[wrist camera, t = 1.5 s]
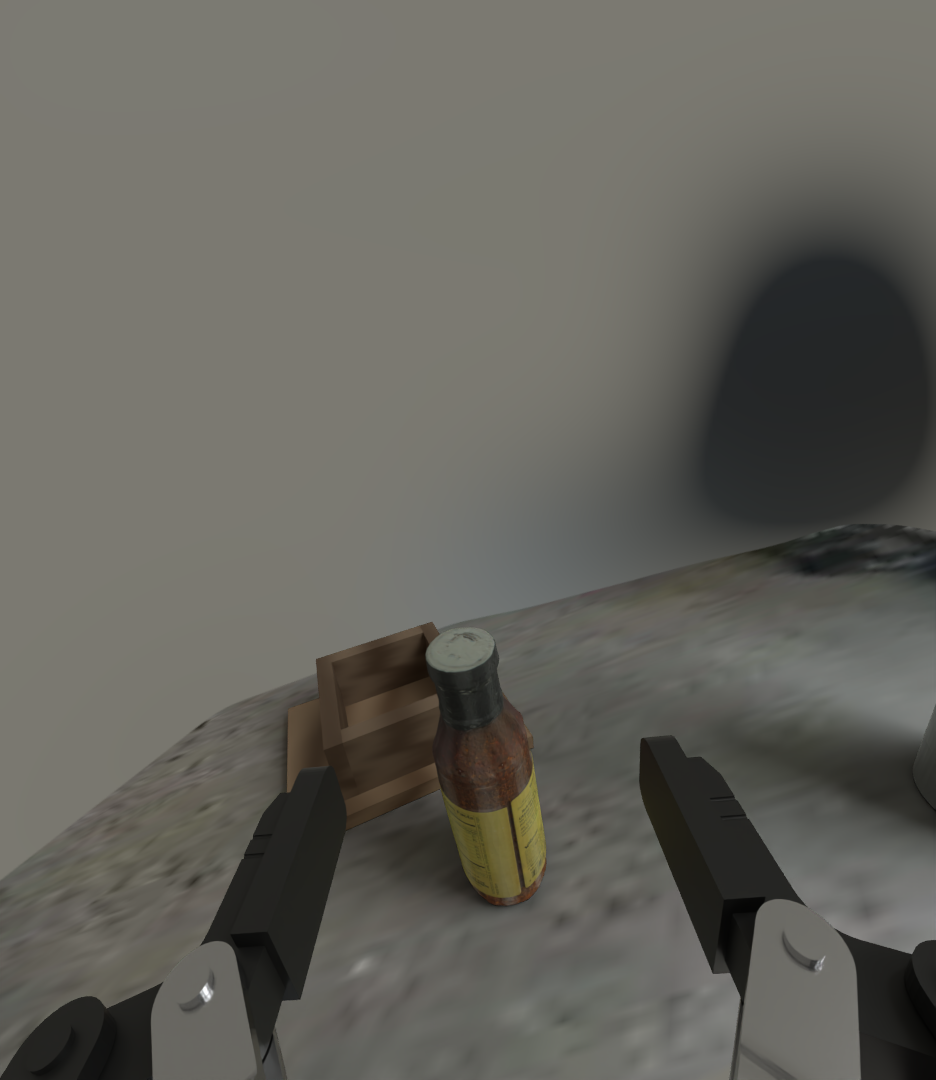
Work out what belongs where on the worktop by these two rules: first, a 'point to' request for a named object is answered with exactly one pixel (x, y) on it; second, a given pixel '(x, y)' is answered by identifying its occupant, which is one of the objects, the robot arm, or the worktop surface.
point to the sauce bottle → (485, 769)
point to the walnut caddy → (372, 724)
